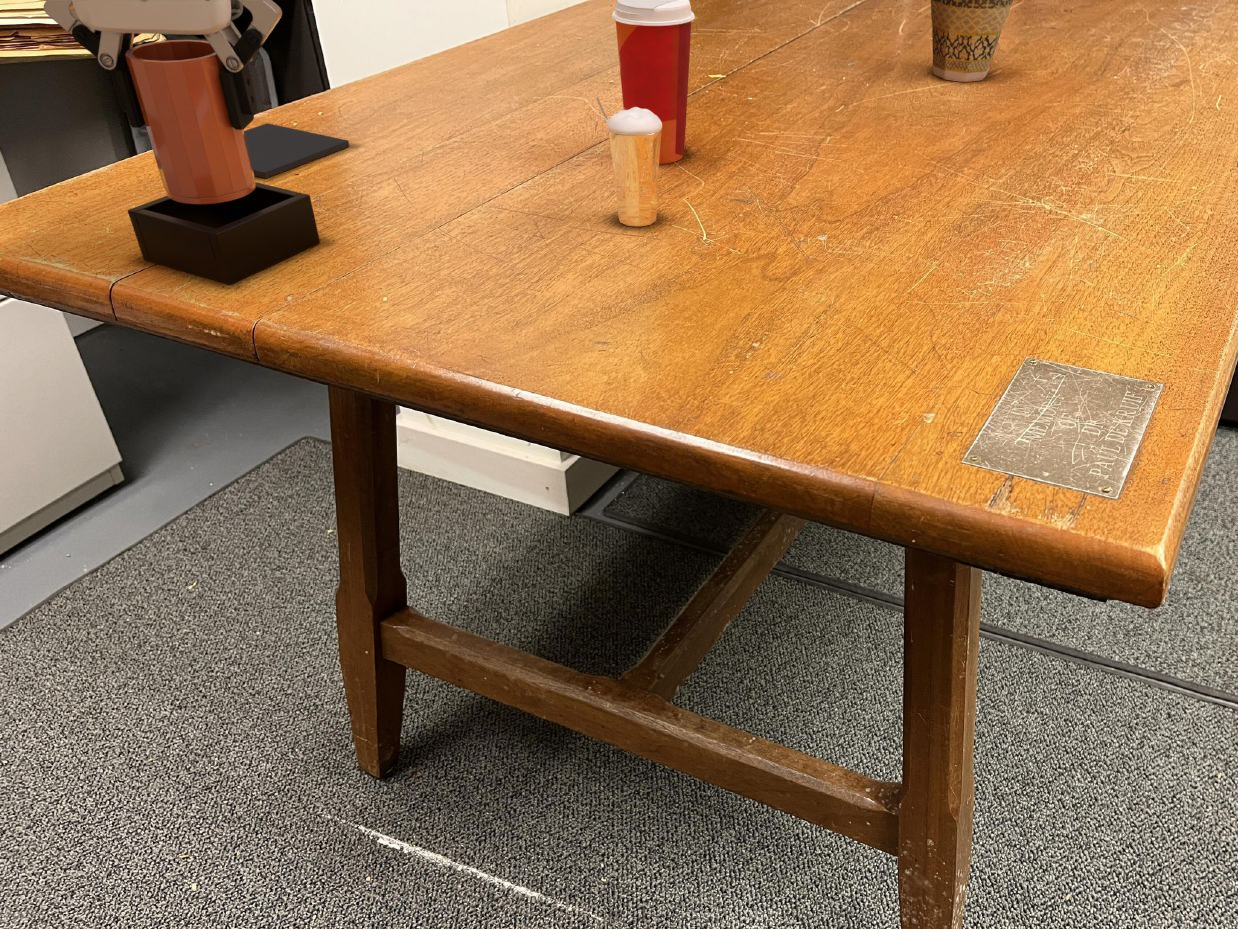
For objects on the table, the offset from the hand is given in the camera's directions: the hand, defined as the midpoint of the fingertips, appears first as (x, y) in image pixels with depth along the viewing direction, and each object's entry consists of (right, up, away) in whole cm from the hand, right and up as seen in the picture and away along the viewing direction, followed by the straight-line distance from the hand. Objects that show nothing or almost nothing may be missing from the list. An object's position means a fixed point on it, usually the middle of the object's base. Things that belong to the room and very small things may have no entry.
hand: (193, 121), depth 79 cm
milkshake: (+31, -3, +14) cm, 34 cm away
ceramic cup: (+70, +28, +55) cm, 93 cm away
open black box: (0, -8, +6) cm, 10 cm away
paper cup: (+33, +7, +27) cm, 43 cm away
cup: (0, -4, +3) cm, 5 cm away
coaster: (-5, +7, +25) cm, 27 cm away
